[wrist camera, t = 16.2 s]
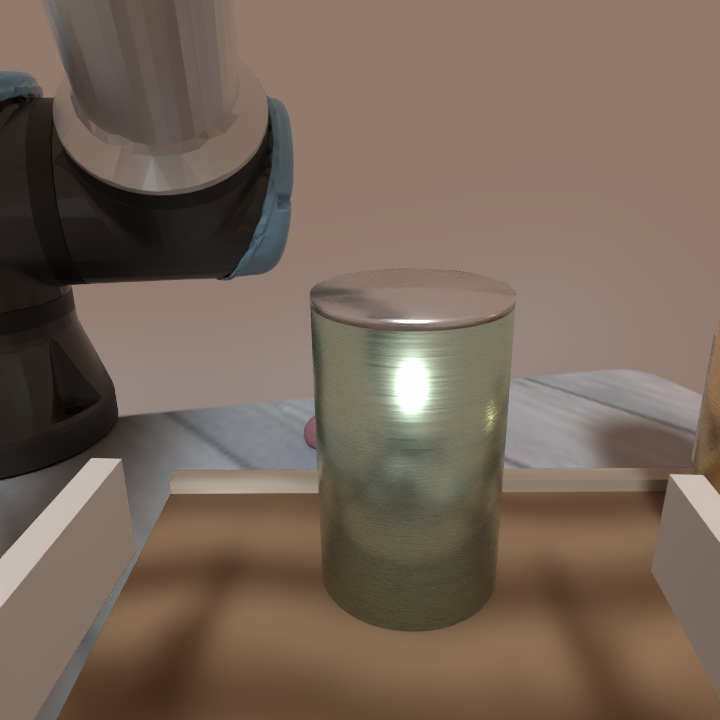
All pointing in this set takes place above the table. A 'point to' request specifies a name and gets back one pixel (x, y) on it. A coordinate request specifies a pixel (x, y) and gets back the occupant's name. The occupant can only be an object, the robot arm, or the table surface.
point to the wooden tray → (390, 647)
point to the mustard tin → (709, 422)
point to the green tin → (411, 441)
